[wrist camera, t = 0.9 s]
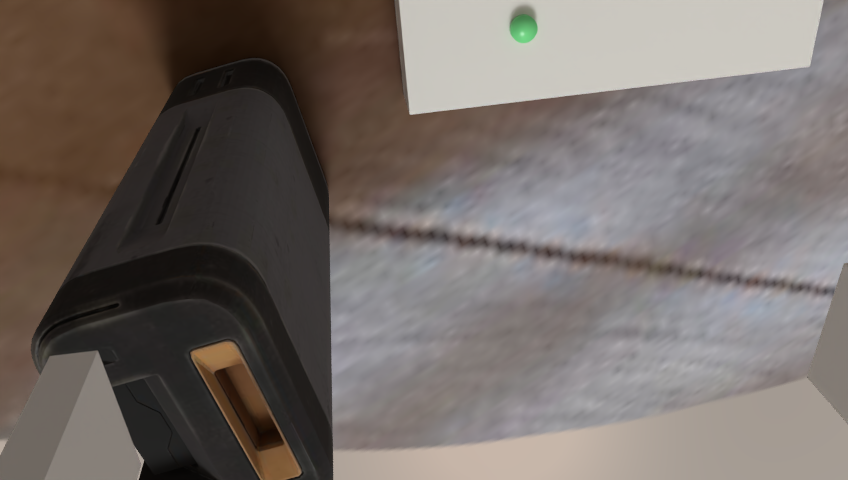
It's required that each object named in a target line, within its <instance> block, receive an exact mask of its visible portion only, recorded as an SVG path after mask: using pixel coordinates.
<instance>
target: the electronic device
mask: <svg viewBox="0 0 848 480" xmlns="http://www.w3.org/2000/svg"><path fill="white" fill-rule="evenodd" d="M89 351H98V353H99V355H100V358H101V360H102V363H103V366H104V368H105V371H106V374H107V376H108V379H109V381H110V384H111V387H112V389H113V392H114V395H115V397H116V400H117V402H118V405H119V408H120V410H121V413H122V416H123V418H124V421H125V423H126V426H127V429H128V431H129V434H130V437H131V439H132V442H133V444H134V446H135V447H136V449H137V450H138V452H139V453H140V454H141V456H142V457H143V459H144V464H143V467H142V471H141V474H140V478H139V480H333V437H332V373H331V308H330V244H329V193H328V187H327V183H326V180H325V177H324V175H323V172H322V169H321V166H320V164H319V161H318V158H317V156H316V153H315V150H314V147H313V145H312V142H311V139H310V136H309V134H308V131H307V128H306V126H305V123H304V120H303V117H302V115H301V112H300V109H299V106H298V104H297V101H296V98H295V96H294V93H293V90H292V87H291V85H290V83H289V81H288V79H287V77H286V75H285V74H284V72H283V71H282V70H281V69H280V68H279V67H278V66H276V65H275V64H274V63H272V62H270V61H268V60H265V59H261V58H249V59H243V60H239V61H236V62H232V63H229V64H225V65H222V66H218V67H215V68H212V69H208V70H205V71H201V72H198V73H195V74H192V75H190V76H188V77H185V78H184V79H183V80H181V81H180V82H179V83H178V84H177V86H176V87H175V89H174V90H173V92H172V94H171V96H170V97H169V99H168V101H167V103H166V104H165V106H164V108H163V110H162V111H161V113H160V115H159V117H158V118H157V120H156V122H155V123H154V125H153V127H152V129H151V130H150V132H149V134H148V136H147V137H146V139H145V141H144V143H143V144H142V146H141V148H140V150H139V151H138V153H137V155H136V157H135V158H134V160H133V162H132V164H131V165H130V167H129V169H128V170H127V172H126V174H125V176H124V177H123V179H122V181H121V183H120V184H119V186H118V188H117V190H116V191H115V193H114V195H113V197H112V198H111V200H110V202H109V204H108V205H107V207H106V209H105V211H104V212H103V214H102V216H101V218H100V219H99V221H98V223H97V225H96V226H95V228H94V230H93V232H92V233H91V235H90V237H89V238H88V240H87V242H86V244H85V245H84V247H83V249H82V251H81V252H80V254H79V256H78V258H77V259H76V261H75V263H74V265H73V266H72V268H71V270H70V272H69V273H68V275H67V277H66V279H65V280H64V282H63V284H62V286H61V287H60V289H59V291H58V293H57V294H56V296H55V298H54V300H53V302H52V303H51V305H50V307H49V309H48V310H47V312H46V314H45V315H44V317H43V319H42V321H41V322H40V324H39V326H38V328H37V329H36V332H35V334H34V336H33V338H32V344H31V354H32V359H33V361H34V364H35V366H36V369H37V370H38V372H39V374H40V375H41V373H42V371H43V369H44V367H45V365H46V363H47V361H48V359H49V357H50V356H55V355H63V354H72V353H80V352H89Z"/></svg>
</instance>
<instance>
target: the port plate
mask: <svg viewBox="0 0 848 480" xmlns="http://www.w3.org/2000/svg"><path fill="white" fill-rule="evenodd" d="M823 1H824V0H394V2H395V12H396V22H397V32H398V43H399V53H400V63H401V73H402V84H403V94H404V97H405V101H406V104H407V107H408V111H409V114H410V115H412V114H420V113H428V112H437V111H445V110H453V109H462V108H470V107H478V106H487V105H495V104H503V103H512V102H520V101H528V100H536V99H545V98H553V97H561V96H570V95H578V94H586V93H595V92H603V91H611V90H620V89H628V88H636V87H645V86H653V85H661V84H670V83H678V82H686V81H695V80H703V79H711V78H719V77H728V76H736V75H744V74H753V73H761V72H769V71H778V70H786V69H794V68H803V67H810V63H811V58H812V53H813V49H814V44H815V39H816V34H817V29H818V25H819V20H820V15H821V10H822V6H823Z"/></svg>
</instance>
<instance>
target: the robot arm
mask: <svg viewBox="0 0 848 480" xmlns="http://www.w3.org/2000/svg"><path fill="white" fill-rule="evenodd" d="M807 378H808V379H809V380H810V381H811V382H812V383H813V385H814V386H815V387H816V388H817V389H818V390H819V392H820V393H821V394H822V395H823V396H824V397H825V398H826V400H827V401H828V402H829V403H830V404H831V405H832V406H833V408H834V409H835V410H836V411H837V412H838V413H839V414H840V416H841V417H842V418H843V419H844V420H845V421H846V422H847V424H848V263H845V264H844V265H843V268H842V271H841V274H840V277H839V280H838V283H837V286H836V289H835V293H834V296H833V299H832V302H831V305H830V308H829V311H828V314H827V317H826V320H825V323H824V327H823V330H822V333H821V336H820V339H819V342H818V345H817V348H816V351H815V354H814V357H813V361H812V364H811V367H810V370H809V373H808V376H807ZM140 466H141V463H140V460H139V458H138V455H137V452H136V450H135V447H134V444H133V442H132V439H131V437H130V434H129V431H128V429H127V426H126V423H125V421H124V418H123V416H122V413H121V410H120V408H119V405H118V402H117V400H116V397H115V395H114V392H113V389H112V387H111V384H110V381H109V379H108V376H107V374H106V371H105V368H104V366H103V363H102V360H101V358H100V355H99V353H98V351H89V352H80V353H72V354H63V355H55V356H50V357H49V359H48V361H47V363H46V365H45V367H44V369H43V371H42V373H41V375H40V377H39V379H38V381H37V383H36V385H35V387H34V389H33V391H32V393H31V395H30V397H29V399H28V401H27V403H26V405H25V407H24V409H23V411H22V413H21V415H20V417H19V419H18V421H17V423H16V425H15V427H14V429H13V431H12V433H11V435H10V437H9V439H8V441H7V443H6V445H5V447H4V449H3V451H2V453H1V455H0V480H137V476H138V473H139V469H140Z"/></svg>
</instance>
